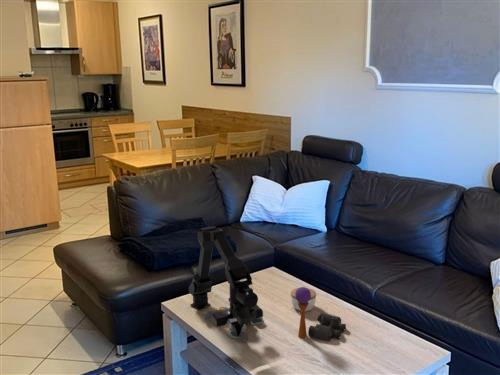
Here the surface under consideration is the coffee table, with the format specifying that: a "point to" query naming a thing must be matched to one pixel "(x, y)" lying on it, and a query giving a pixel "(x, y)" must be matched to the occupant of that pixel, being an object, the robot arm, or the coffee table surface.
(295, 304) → the white bowl
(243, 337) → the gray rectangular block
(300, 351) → the coffee table surface
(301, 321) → the kendama
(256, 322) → the tribrach plate
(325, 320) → the binoculars
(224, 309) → the foot screw
